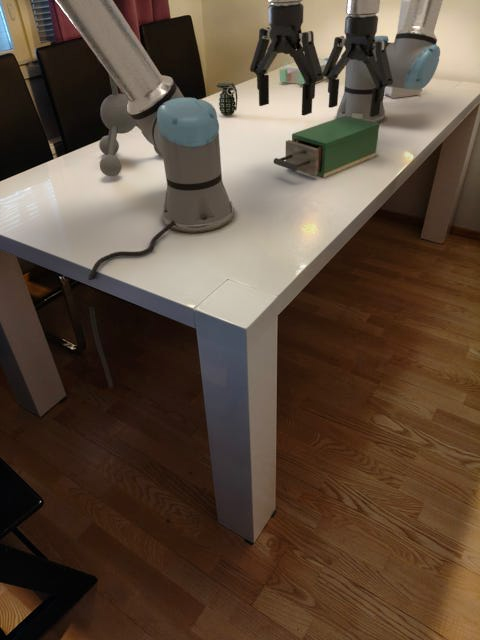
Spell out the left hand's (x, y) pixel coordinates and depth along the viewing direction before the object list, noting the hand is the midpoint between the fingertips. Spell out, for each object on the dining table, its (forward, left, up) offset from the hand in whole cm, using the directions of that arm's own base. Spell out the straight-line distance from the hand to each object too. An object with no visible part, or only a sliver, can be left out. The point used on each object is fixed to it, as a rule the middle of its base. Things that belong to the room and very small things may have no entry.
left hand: (284, 109), depth 116 cm
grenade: (+41, +40, -16) cm, 59 cm away
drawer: (+7, -7, -15) cm, 17 cm away
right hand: (+18, -11, -4) cm, 22 cm away
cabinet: (+13, -9, -16) cm, 22 cm away
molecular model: (-7, +42, -16) cm, 45 cm away
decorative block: (+100, +34, -16) cm, 106 cm away
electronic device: (+86, -9, -16) cm, 87 cm away
